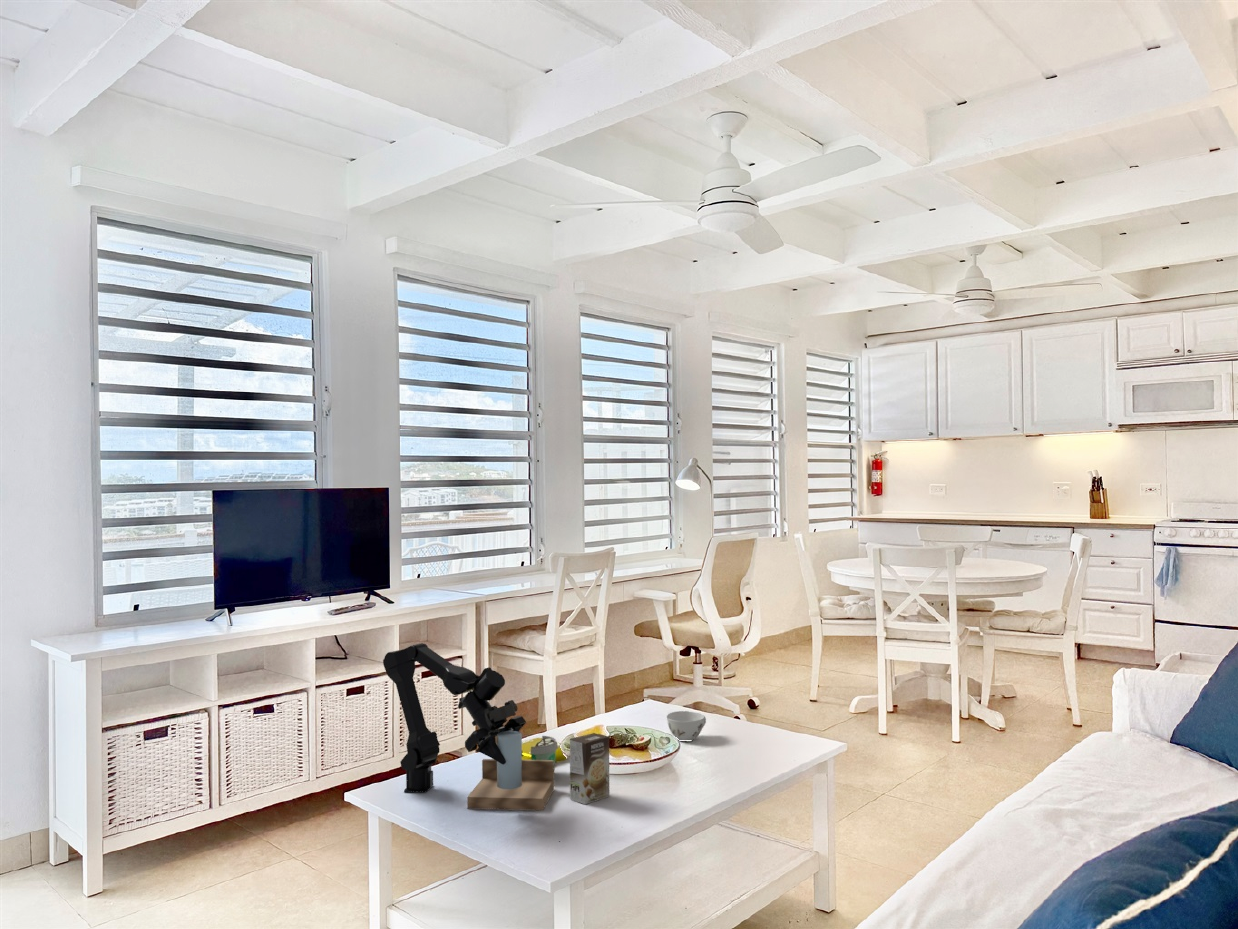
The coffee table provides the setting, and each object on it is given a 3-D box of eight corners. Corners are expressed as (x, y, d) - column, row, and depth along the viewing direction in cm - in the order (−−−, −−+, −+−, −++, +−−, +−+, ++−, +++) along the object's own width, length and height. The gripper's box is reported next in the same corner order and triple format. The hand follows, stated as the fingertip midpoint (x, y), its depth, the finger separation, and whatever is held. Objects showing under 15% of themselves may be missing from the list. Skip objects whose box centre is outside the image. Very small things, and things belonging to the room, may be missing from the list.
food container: (551, 783, 241) (551, 748, 242) (530, 782, 243) (530, 747, 243) (563, 770, 254) (562, 736, 254) (543, 769, 255) (542, 735, 255)
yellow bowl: (538, 750, 275) (538, 735, 276) (570, 759, 265) (569, 744, 265) (501, 761, 265) (501, 745, 265) (533, 771, 254) (532, 755, 254)
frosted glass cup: (495, 789, 217) (495, 738, 218) (498, 781, 224) (498, 731, 224) (520, 789, 218) (520, 737, 218) (522, 780, 224) (522, 730, 224)
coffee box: (585, 805, 224) (584, 743, 225) (569, 799, 229) (568, 738, 229) (610, 796, 231) (609, 736, 231) (594, 790, 235) (593, 732, 236)
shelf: (467, 808, 223) (467, 777, 223) (483, 787, 239) (483, 759, 239) (542, 810, 221) (542, 779, 221) (553, 789, 237) (553, 760, 237)
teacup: (682, 747, 274) (682, 722, 274) (659, 738, 285) (658, 714, 285) (718, 739, 283) (717, 715, 283) (694, 731, 293) (694, 707, 293)
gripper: (472, 699, 216) (506, 750, 209) (520, 685, 231) (553, 732, 225) (450, 726, 220) (482, 777, 213) (498, 710, 236) (530, 757, 229)
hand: (513, 760), depth 220 cm, fingers closed on frosted glass cup, 6 cm apart
